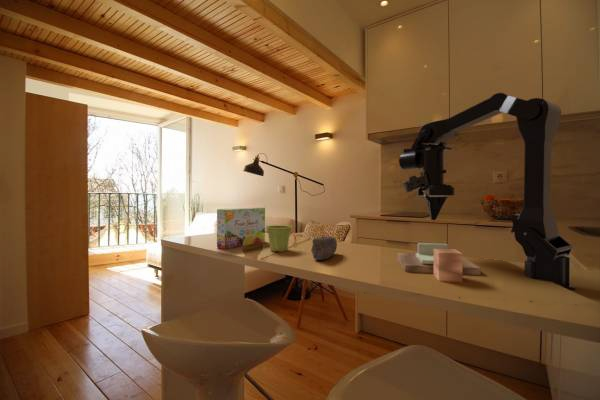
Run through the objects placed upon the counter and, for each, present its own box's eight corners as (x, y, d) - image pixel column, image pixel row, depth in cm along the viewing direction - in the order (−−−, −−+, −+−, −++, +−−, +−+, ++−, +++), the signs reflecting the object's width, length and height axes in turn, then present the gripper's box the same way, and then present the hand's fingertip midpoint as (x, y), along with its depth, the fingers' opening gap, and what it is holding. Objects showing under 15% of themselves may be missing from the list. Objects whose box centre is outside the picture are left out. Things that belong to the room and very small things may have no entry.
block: (455, 280, 63) (455, 249, 63) (462, 287, 58) (462, 253, 58) (433, 279, 64) (433, 248, 64) (438, 285, 59) (438, 252, 59)
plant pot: (282, 246, 109) (281, 224, 109) (297, 250, 102) (297, 226, 101) (261, 250, 103) (260, 226, 103) (276, 254, 96) (275, 228, 95)
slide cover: (448, 257, 73) (448, 243, 73) (459, 264, 65) (459, 249, 65) (415, 256, 75) (415, 243, 75) (422, 263, 67) (422, 248, 67)
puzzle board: (458, 265, 77) (458, 254, 77) (480, 281, 63) (480, 268, 63) (397, 263, 80) (397, 253, 80) (405, 277, 67) (405, 265, 67)
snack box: (225, 249, 105) (225, 209, 104) (216, 248, 108) (215, 208, 108) (266, 241, 121) (265, 206, 121) (256, 240, 125) (256, 206, 125)
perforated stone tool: (328, 252, 97) (328, 232, 97) (342, 254, 95) (342, 233, 95) (307, 261, 85) (306, 238, 84) (322, 263, 82) (322, 239, 82)
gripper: (400, 170, 94) (400, 217, 95) (409, 165, 76) (410, 222, 76) (436, 169, 92) (436, 217, 92) (455, 163, 74) (455, 223, 74)
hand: (433, 219), depth 84 cm, fingers closed
